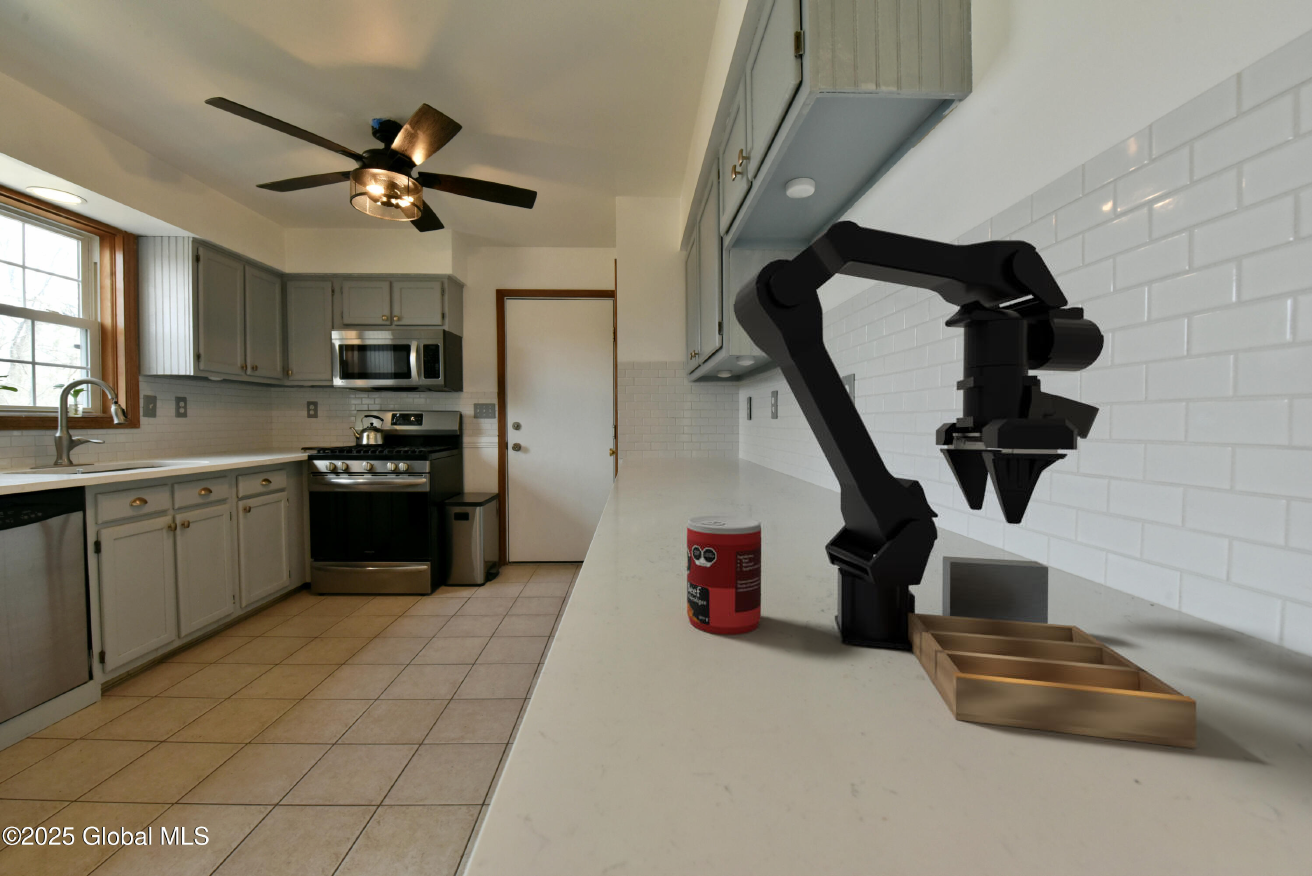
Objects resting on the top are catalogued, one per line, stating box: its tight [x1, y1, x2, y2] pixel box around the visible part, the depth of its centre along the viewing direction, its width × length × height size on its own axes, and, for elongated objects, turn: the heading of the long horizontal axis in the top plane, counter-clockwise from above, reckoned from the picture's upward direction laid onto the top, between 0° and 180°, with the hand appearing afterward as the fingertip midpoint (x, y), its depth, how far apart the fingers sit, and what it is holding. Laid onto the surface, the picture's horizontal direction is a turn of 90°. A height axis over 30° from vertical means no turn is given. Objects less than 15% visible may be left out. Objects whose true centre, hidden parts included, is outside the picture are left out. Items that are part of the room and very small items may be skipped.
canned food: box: [686, 515, 762, 636], centre depth 54 cm, size 8×8×11 cm
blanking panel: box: [941, 555, 1049, 624], centre depth 53 cm, size 9×2×7 cm, turn 77°
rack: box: [908, 612, 1197, 749], centre depth 40 cm, size 14×13×3 cm
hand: (993, 516), depth 52 cm, fingers open, 9 cm apart
